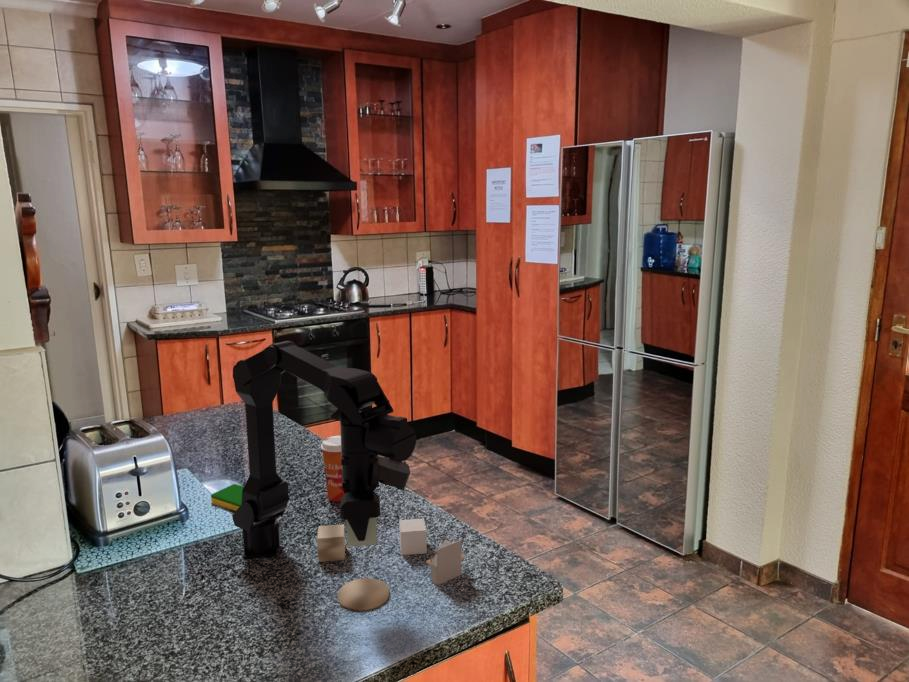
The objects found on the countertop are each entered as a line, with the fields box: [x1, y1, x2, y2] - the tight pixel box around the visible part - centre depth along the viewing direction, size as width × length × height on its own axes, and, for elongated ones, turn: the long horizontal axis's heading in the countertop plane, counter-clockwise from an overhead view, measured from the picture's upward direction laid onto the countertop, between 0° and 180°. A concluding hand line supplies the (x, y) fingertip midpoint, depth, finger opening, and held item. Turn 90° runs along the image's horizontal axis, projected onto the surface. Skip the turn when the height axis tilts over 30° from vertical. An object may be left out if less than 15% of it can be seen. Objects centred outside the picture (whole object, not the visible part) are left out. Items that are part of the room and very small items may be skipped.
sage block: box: [345, 518, 378, 548], centre depth 113 cm, size 5×5×5 cm
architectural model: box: [426, 539, 466, 586], centre depth 121 cm, size 3×7×7 cm, turn 128°
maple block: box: [316, 523, 346, 563], centre depth 129 cm, size 5×5×5 cm
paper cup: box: [320, 435, 344, 503], centre depth 153 cm, size 8×8×14 cm
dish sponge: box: [210, 483, 244, 512], centre depth 151 cm, size 7×14×2 cm, turn 59°
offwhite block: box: [398, 517, 428, 556], centre depth 131 cm, size 5×5×5 cm
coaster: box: [337, 577, 390, 612], centre depth 115 cm, size 9×9×1 cm
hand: (361, 532), depth 113 cm, fingers closed on sage block, 5 cm apart
